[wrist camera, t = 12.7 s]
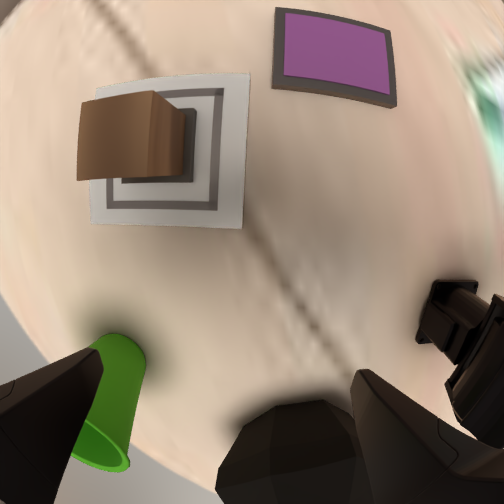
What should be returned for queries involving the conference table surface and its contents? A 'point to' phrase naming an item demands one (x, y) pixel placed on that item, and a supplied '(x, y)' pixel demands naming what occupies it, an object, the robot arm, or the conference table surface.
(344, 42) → the ink pad
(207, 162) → the frame
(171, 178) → the stamp
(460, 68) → the conference table surface
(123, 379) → the cup
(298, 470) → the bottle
